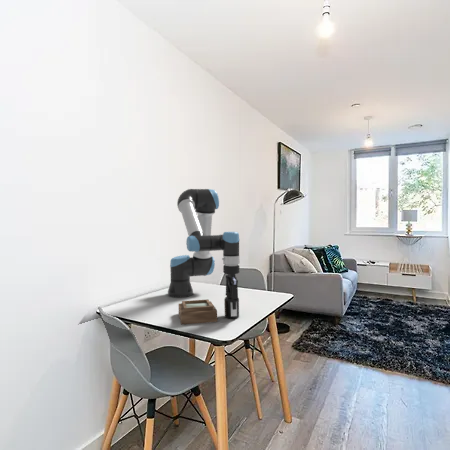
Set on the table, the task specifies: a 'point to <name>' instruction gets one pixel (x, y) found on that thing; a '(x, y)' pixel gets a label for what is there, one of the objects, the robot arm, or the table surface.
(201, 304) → the stand
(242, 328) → the table surface
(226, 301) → the supplement bottle
